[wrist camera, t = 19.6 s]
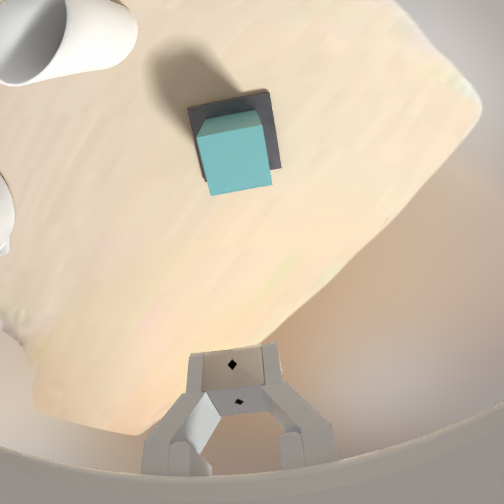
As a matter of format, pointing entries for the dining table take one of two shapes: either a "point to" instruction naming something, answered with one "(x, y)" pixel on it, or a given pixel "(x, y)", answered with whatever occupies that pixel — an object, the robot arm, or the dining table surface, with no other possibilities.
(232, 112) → the post
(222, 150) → the teal rectangular block
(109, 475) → the robot arm
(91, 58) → the cup
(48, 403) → the dining table surface
